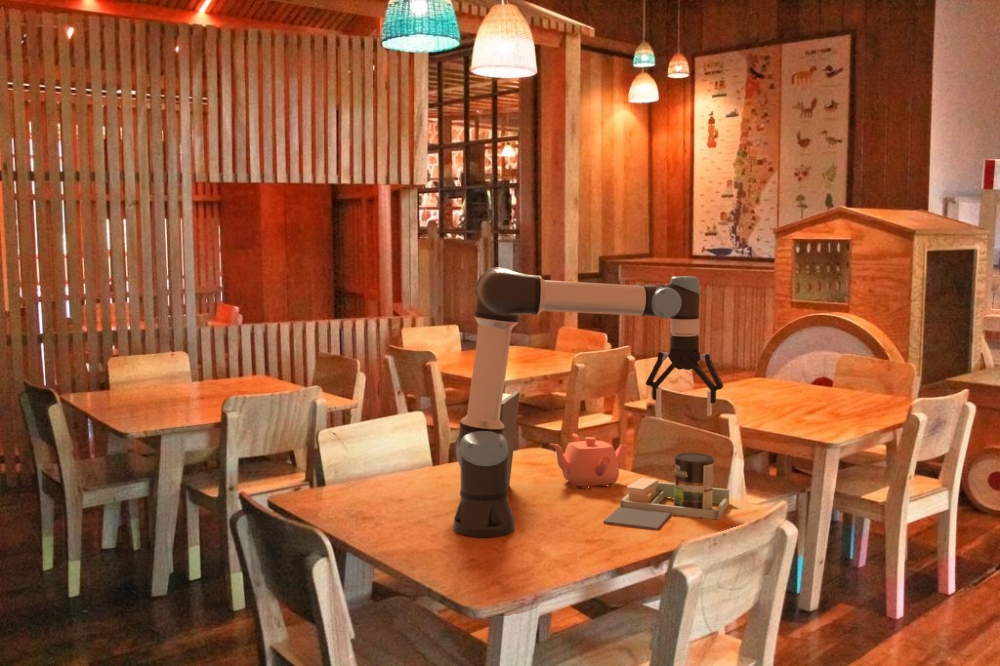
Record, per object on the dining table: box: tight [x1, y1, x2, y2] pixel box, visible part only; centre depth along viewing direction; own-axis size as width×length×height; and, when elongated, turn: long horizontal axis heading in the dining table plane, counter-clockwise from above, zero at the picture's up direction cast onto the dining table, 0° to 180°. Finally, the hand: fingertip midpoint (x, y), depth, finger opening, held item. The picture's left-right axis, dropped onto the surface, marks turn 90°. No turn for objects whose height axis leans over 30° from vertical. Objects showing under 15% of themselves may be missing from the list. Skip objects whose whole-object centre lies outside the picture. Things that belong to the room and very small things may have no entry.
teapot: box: [549, 432, 628, 489], centre depth 280 cm, size 18×18×14 cm
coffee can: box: [673, 452, 715, 510], centre depth 255 cm, size 10×10×14 cm
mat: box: [603, 506, 672, 531], centre depth 246 cm, size 14×14×1 cm
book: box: [459, 390, 521, 497], centre depth 268 cm, size 22×9×28 cm, turn 167°
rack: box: [619, 477, 730, 520], centre depth 258 cm, size 16×26×5 cm, turn 67°
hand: (683, 413), depth 255 cm, fingers open, 13 cm apart
